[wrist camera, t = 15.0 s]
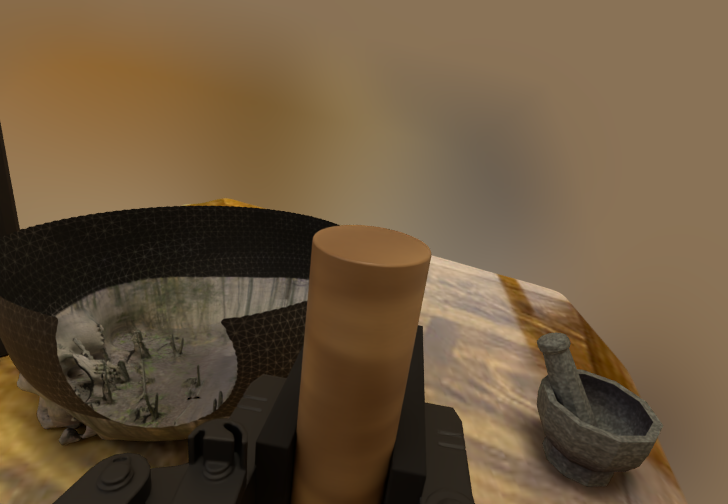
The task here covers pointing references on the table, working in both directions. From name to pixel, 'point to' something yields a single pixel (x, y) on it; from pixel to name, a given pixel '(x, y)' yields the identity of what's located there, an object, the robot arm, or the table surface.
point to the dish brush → (355, 361)
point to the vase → (6, 206)
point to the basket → (153, 314)
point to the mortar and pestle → (590, 419)
